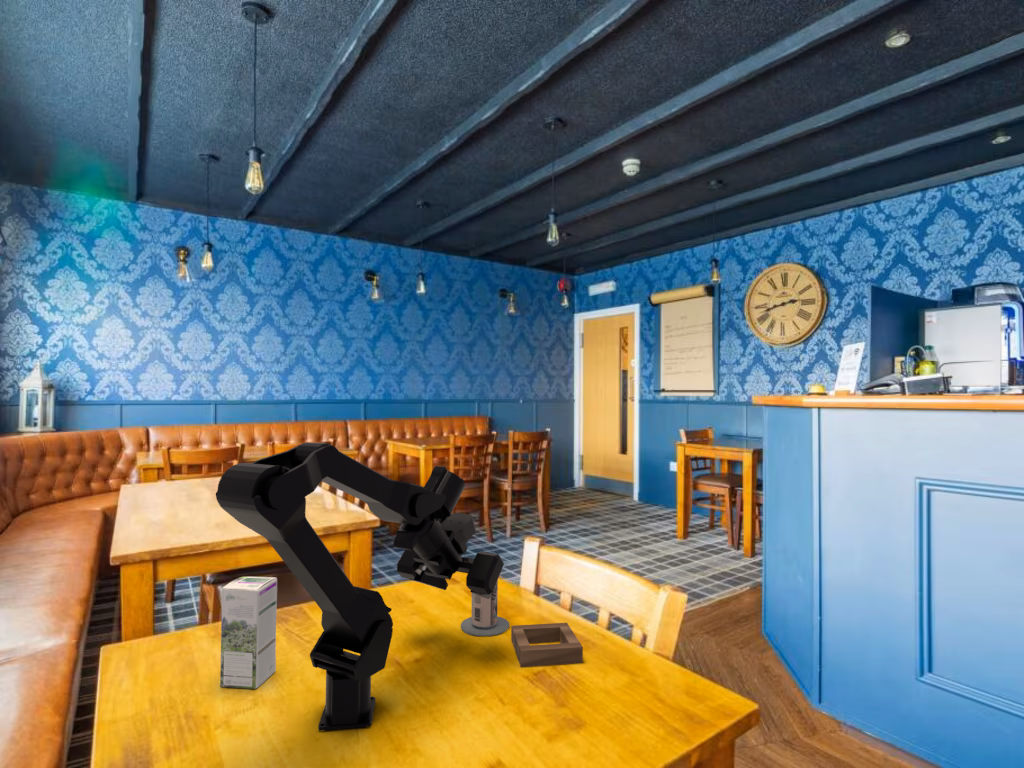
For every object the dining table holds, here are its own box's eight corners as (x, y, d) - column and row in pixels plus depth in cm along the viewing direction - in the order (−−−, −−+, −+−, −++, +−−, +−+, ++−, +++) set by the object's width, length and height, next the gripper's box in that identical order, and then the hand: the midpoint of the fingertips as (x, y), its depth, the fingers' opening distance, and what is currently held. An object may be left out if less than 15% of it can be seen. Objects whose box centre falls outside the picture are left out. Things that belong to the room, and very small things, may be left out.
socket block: (582, 662, 88) (582, 647, 88) (520, 667, 86) (520, 650, 86) (567, 636, 98) (567, 622, 98) (511, 640, 96) (511, 625, 96)
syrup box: (277, 671, 85) (279, 575, 85) (255, 691, 79) (257, 588, 79) (241, 669, 85) (244, 574, 86) (217, 688, 79) (220, 586, 80)
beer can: (499, 628, 100) (500, 561, 101) (473, 631, 99) (474, 563, 100) (494, 618, 105) (495, 555, 105) (469, 620, 104) (470, 556, 104)
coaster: (512, 635, 98) (512, 632, 98) (462, 638, 97) (462, 635, 97) (505, 616, 107) (505, 614, 107) (459, 618, 106) (459, 616, 106)
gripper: (498, 505, 89) (529, 559, 98) (408, 495, 98) (444, 545, 107) (471, 566, 82) (507, 618, 91) (376, 549, 91) (417, 598, 100)
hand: (467, 591), depth 97 cm, fingers open, 9 cm apart
